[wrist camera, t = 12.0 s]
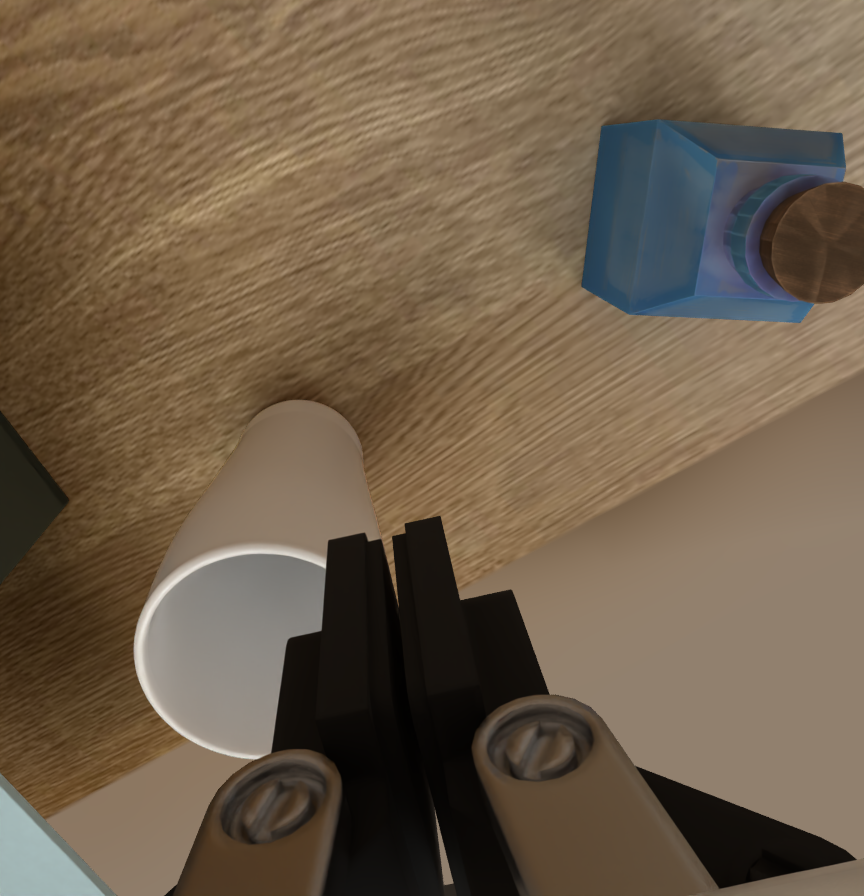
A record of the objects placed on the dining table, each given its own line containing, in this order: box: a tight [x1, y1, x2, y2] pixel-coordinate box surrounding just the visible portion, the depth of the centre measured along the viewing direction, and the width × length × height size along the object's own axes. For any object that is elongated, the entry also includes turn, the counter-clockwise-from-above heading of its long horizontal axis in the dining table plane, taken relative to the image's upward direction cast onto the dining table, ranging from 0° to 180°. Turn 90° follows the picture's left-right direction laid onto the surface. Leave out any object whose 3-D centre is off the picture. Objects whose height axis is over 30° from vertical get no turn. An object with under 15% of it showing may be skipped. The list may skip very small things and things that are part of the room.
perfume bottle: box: [581, 119, 864, 323], centre depth 27 cm, size 6×6×12 cm
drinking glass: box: [134, 400, 388, 760], centre depth 28 cm, size 7×7×15 cm
